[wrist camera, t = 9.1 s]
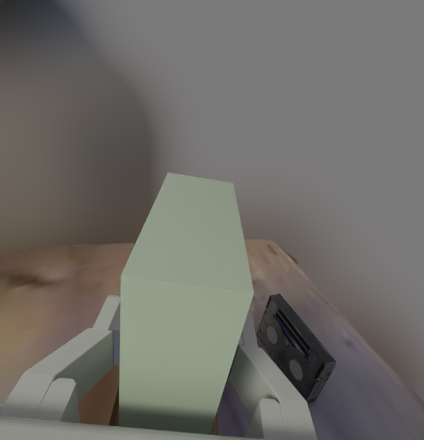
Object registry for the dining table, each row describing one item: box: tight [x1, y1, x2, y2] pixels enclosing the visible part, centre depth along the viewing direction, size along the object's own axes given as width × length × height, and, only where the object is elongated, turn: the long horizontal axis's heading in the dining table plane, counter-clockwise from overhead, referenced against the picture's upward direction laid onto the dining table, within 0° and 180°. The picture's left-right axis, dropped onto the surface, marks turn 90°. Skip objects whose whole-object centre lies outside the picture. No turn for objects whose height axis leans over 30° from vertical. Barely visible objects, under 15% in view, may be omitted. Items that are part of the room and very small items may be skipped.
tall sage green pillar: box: [119, 173, 254, 435], centre depth 10 cm, size 2×6×11 cm, turn 0°
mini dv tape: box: [257, 294, 336, 404], centre depth 27 cm, size 8×2×6 cm, turn 23°
